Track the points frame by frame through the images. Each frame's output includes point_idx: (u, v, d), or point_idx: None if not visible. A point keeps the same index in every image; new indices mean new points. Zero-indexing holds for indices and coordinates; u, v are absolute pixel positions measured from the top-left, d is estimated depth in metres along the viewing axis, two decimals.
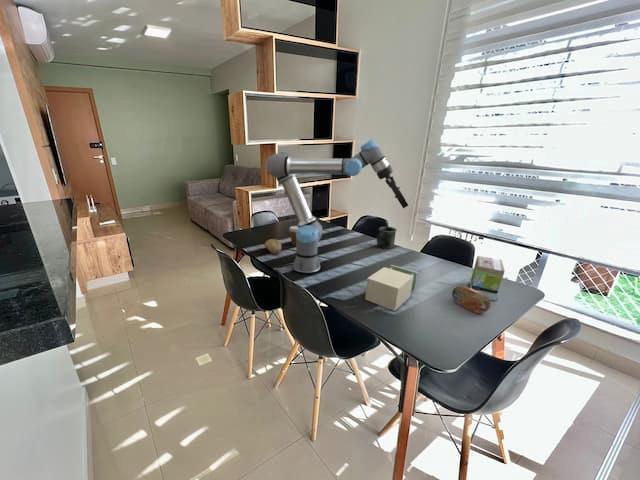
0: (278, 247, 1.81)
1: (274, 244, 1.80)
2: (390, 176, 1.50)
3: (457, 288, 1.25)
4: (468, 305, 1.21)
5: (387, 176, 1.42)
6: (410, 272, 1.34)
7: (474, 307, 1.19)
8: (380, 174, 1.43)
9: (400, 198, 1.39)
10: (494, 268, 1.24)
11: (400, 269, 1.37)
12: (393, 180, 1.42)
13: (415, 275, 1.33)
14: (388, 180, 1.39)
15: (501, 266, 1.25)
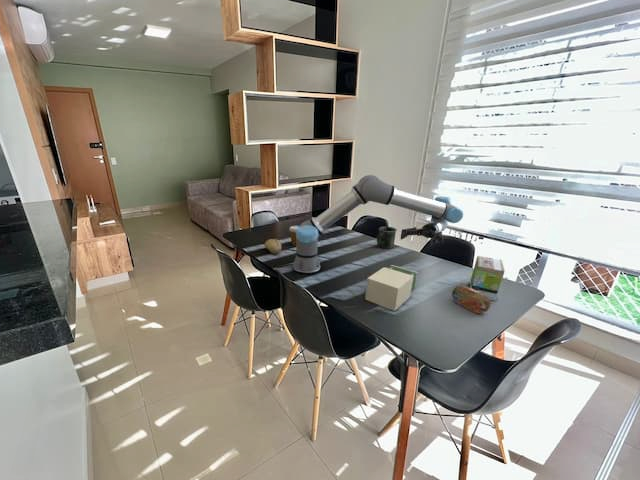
0: (278, 247, 1.81)
1: (274, 244, 1.80)
2: None
3: (457, 288, 1.25)
4: (468, 305, 1.21)
5: None
6: (410, 272, 1.34)
7: (474, 307, 1.19)
8: (437, 227, 1.47)
9: (437, 240, 1.35)
10: (494, 268, 1.24)
11: (400, 269, 1.37)
12: None
13: (415, 275, 1.33)
14: (441, 234, 1.43)
15: (501, 266, 1.25)
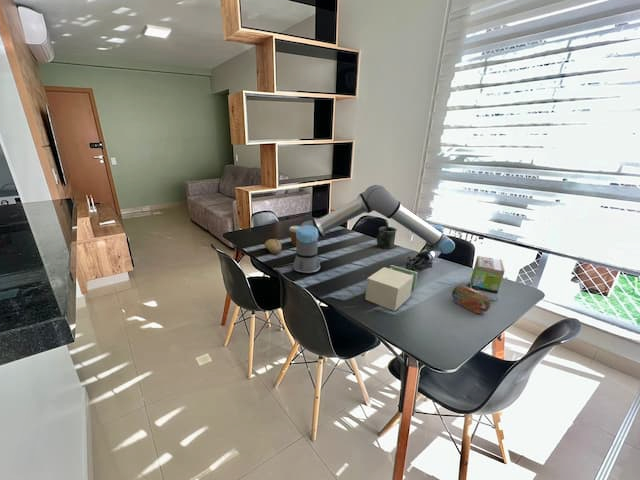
0: (278, 247, 1.81)
1: (274, 244, 1.80)
2: None
3: (457, 288, 1.25)
4: (468, 305, 1.21)
5: (429, 261, 1.51)
6: (410, 272, 1.34)
7: (474, 307, 1.19)
8: (430, 256, 1.52)
9: (415, 269, 1.43)
10: (494, 268, 1.24)
11: (400, 269, 1.37)
12: None
13: (415, 275, 1.32)
14: (431, 264, 1.47)
15: (501, 266, 1.25)
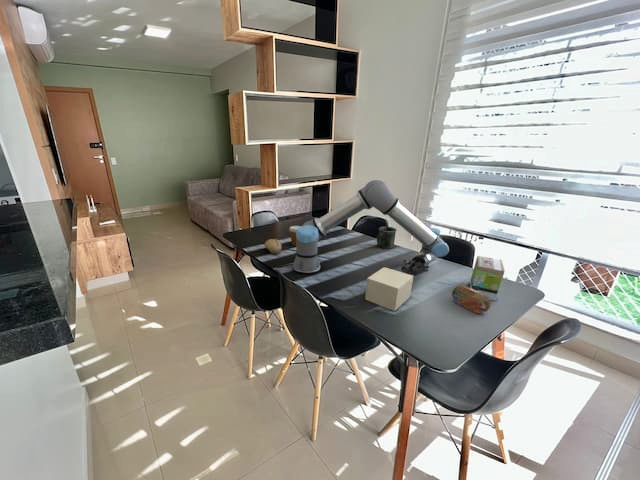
0: (278, 247, 1.81)
1: (274, 244, 1.80)
2: (405, 265, 1.51)
3: (457, 288, 1.25)
4: (468, 305, 1.21)
5: (425, 265, 1.47)
6: None
7: (474, 307, 1.19)
8: (426, 259, 1.49)
9: (410, 273, 1.39)
10: (494, 268, 1.24)
11: None
12: (418, 269, 1.46)
13: None
14: (427, 268, 1.43)
15: (501, 266, 1.25)
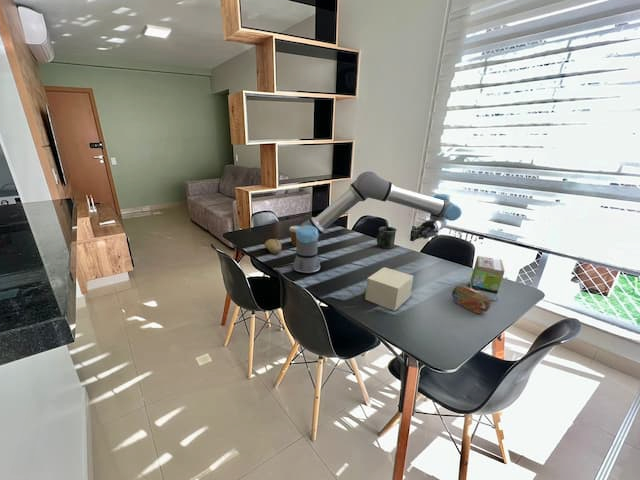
0: (278, 247, 1.81)
1: (274, 244, 1.80)
2: (414, 231, 1.47)
3: (457, 288, 1.25)
4: (468, 305, 1.21)
5: None
6: None
7: (474, 307, 1.19)
8: (436, 225, 1.45)
9: (420, 236, 1.36)
10: (494, 268, 1.24)
11: None
12: None
13: None
14: (437, 232, 1.40)
15: (501, 266, 1.25)
